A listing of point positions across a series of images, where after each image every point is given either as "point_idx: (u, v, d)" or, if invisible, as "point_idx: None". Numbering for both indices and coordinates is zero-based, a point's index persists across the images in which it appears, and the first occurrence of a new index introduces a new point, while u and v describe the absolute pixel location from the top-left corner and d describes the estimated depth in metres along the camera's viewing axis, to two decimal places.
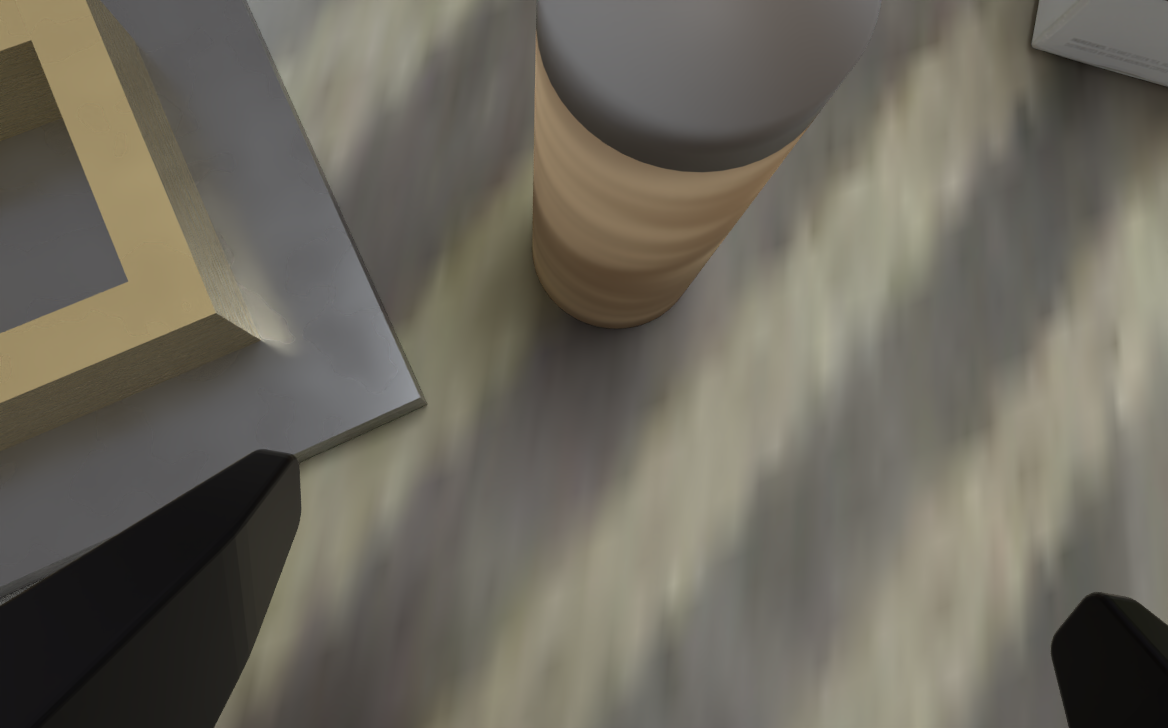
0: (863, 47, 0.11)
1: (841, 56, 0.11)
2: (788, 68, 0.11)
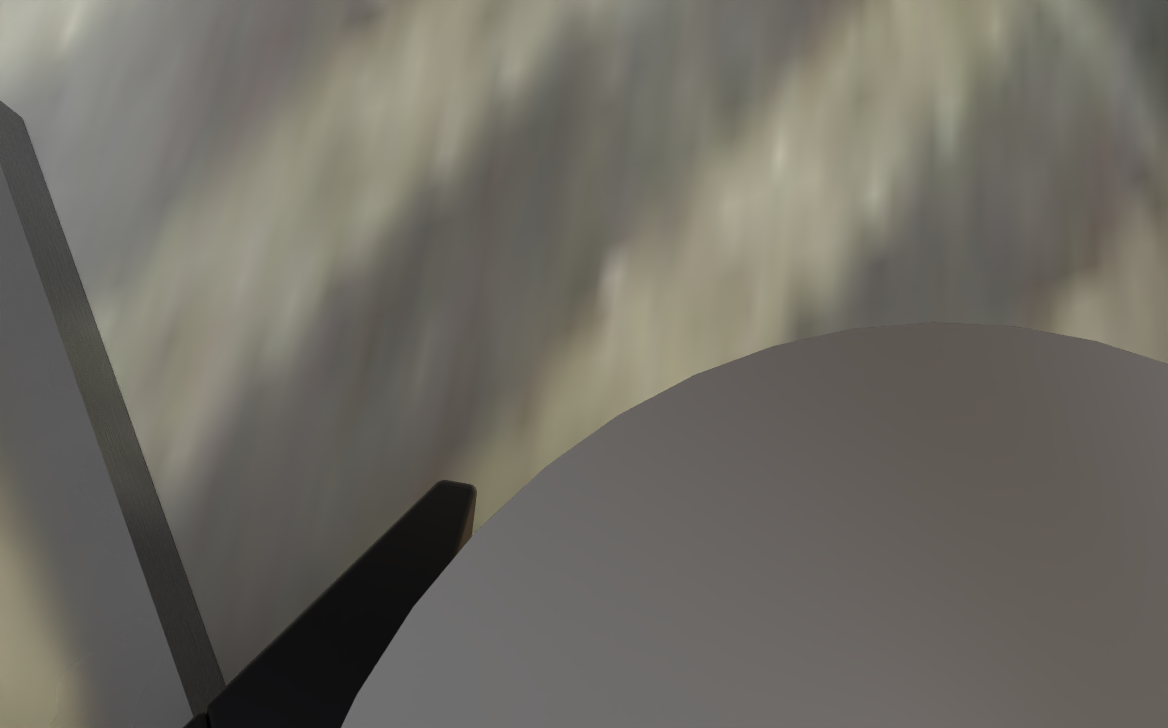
0: None
1: None
2: None
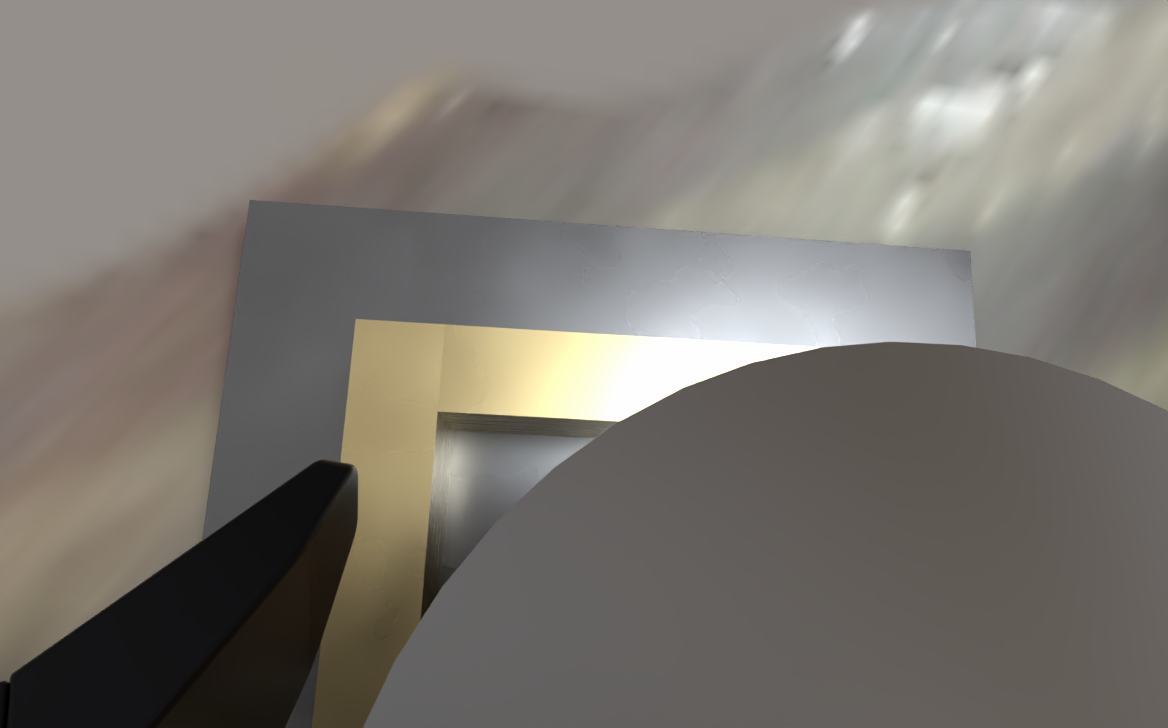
0: None
1: None
2: None
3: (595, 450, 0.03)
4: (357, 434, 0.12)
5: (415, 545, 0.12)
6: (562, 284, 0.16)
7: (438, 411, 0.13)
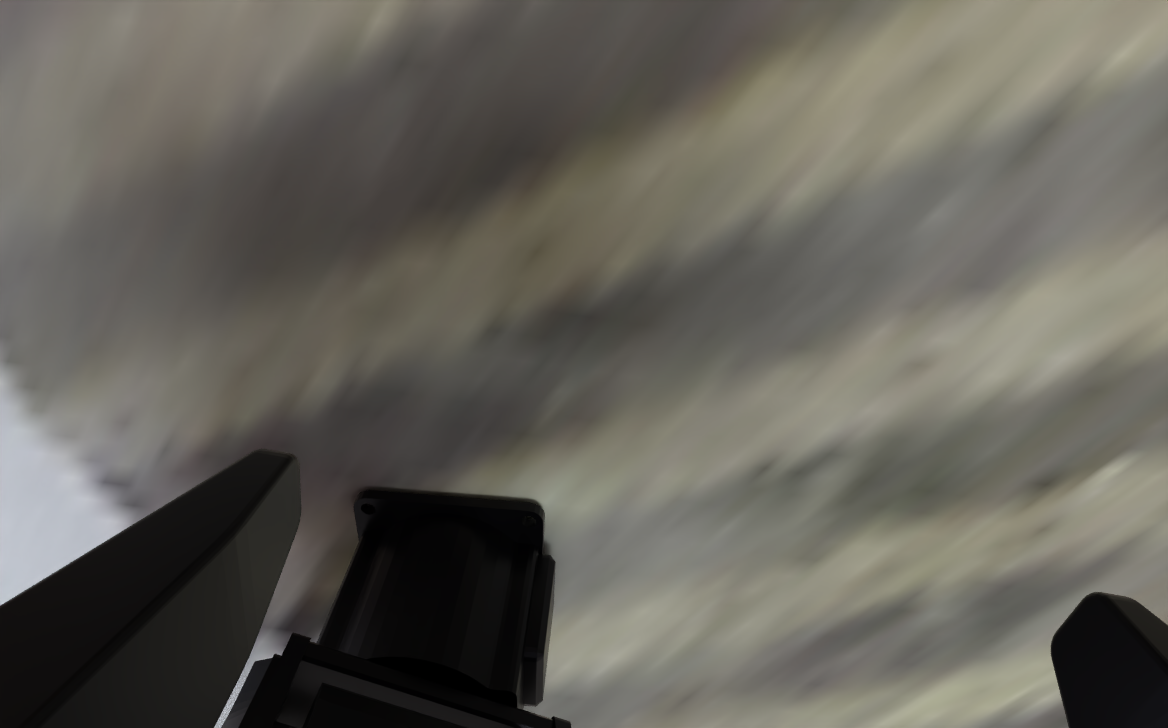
0: None
1: None
2: None
3: None
4: None
5: None
6: None
7: None
